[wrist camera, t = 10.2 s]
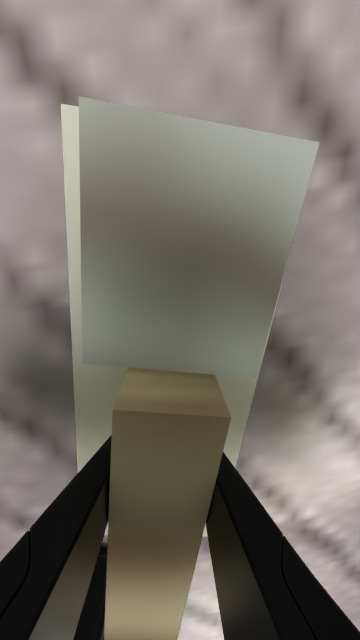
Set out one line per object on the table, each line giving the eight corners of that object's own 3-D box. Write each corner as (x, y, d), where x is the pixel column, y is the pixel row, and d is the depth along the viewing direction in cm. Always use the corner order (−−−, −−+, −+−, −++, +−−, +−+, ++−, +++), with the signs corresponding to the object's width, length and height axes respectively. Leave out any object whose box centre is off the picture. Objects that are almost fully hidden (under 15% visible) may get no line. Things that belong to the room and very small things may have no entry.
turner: (200, 550, 12) (210, 644, 9) (92, 548, 11) (66, 648, 8) (296, 159, 6) (404, 78, 3) (93, 122, 6) (19, -9, 3)
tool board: (214, 515, 15) (217, 536, 14) (87, 511, 14) (80, 533, 13) (297, 159, 9) (317, 145, 7) (76, 125, 8) (60, 103, 7)
